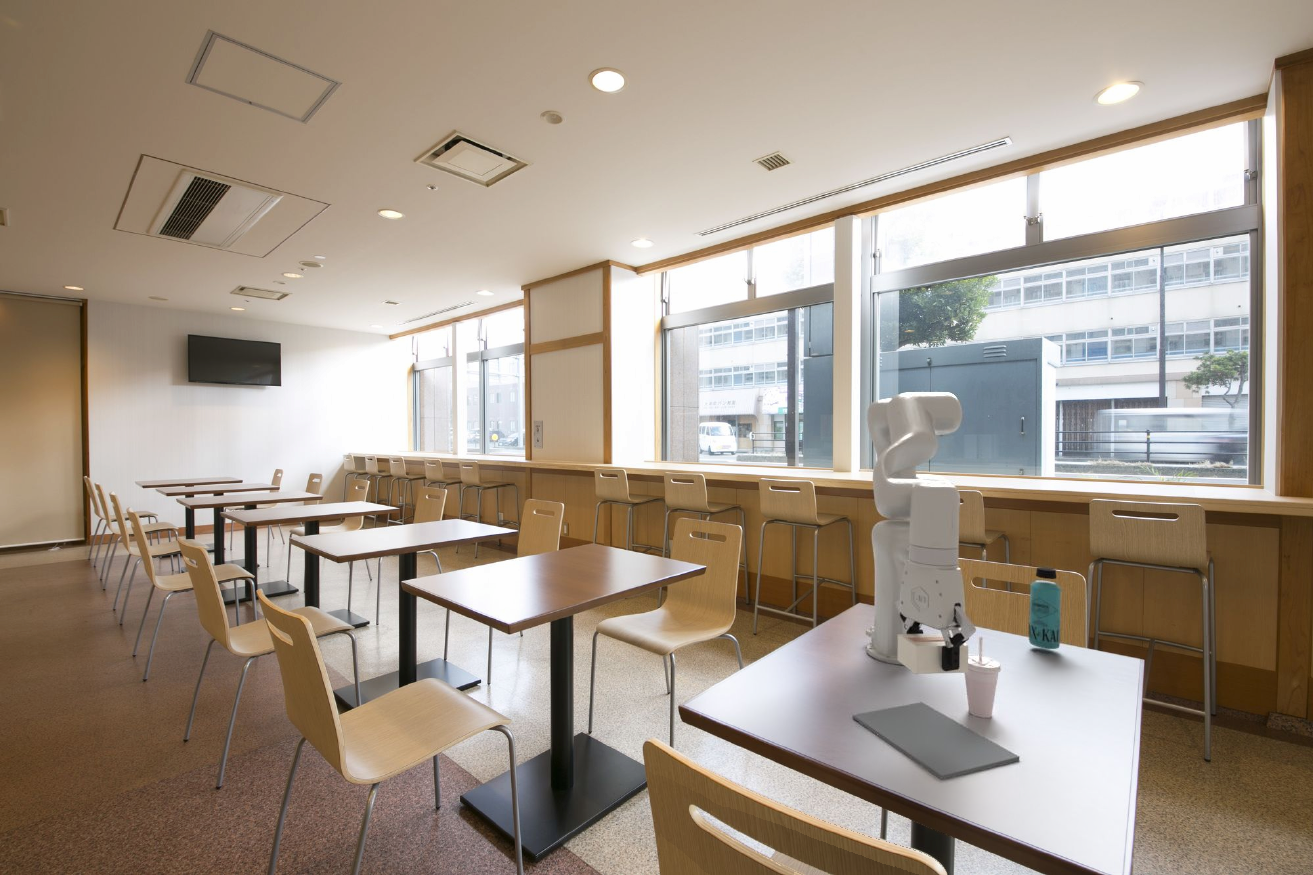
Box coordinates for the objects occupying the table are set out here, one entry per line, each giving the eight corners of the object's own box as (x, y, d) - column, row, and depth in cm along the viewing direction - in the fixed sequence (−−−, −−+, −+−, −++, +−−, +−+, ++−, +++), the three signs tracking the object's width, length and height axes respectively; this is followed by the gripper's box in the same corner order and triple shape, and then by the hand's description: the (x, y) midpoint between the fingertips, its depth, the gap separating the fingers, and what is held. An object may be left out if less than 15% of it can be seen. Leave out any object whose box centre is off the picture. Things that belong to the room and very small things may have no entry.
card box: (946, 659, 103) (946, 632, 103) (968, 672, 97) (968, 644, 97) (897, 660, 102) (897, 633, 102) (916, 674, 96) (916, 645, 96)
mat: (852, 718, 106) (852, 714, 106) (921, 705, 112) (921, 702, 112) (941, 779, 87) (941, 775, 87) (1019, 760, 93) (1019, 756, 93)
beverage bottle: (1028, 643, 146) (1030, 563, 146) (1061, 650, 142) (1062, 567, 142) (1027, 651, 141) (1028, 568, 141) (1060, 658, 137) (1062, 572, 137)
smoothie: (995, 708, 111) (997, 634, 111) (1003, 724, 105) (1005, 645, 105) (958, 702, 113) (959, 630, 113) (963, 717, 107) (965, 641, 107)
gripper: (879, 548, 106) (877, 646, 106) (959, 568, 90) (957, 684, 90) (911, 546, 109) (910, 642, 109) (995, 565, 92) (993, 678, 92)
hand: (931, 660), depth 99 cm, fingers closed on card box, 7 cm apart
